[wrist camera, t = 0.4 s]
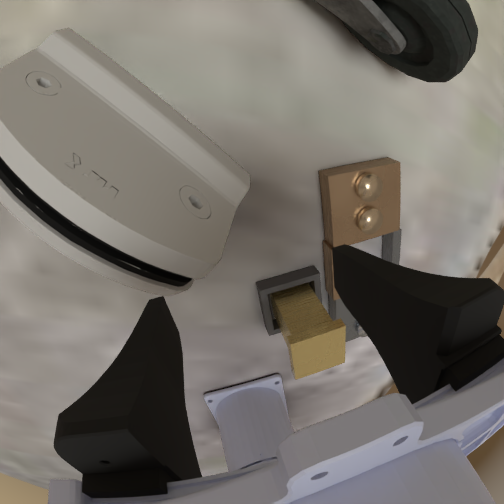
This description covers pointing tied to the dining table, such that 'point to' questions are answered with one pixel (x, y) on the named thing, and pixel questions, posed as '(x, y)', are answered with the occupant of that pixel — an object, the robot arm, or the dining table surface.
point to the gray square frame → (283, 283)
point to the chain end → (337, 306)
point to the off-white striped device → (112, 169)
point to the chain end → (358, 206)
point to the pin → (308, 330)
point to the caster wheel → (413, 33)
